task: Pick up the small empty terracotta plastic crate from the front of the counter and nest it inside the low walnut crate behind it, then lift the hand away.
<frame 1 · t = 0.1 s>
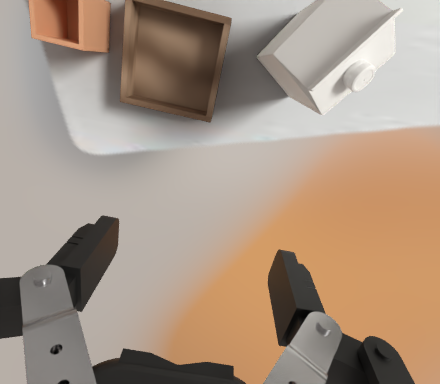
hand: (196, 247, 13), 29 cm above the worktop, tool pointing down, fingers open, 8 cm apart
terracotta crate: (87, 23, 34), on the worktop
walnut crate: (177, 62, 36), on the worktop
milk carton: (293, 57, 36), on the worktop
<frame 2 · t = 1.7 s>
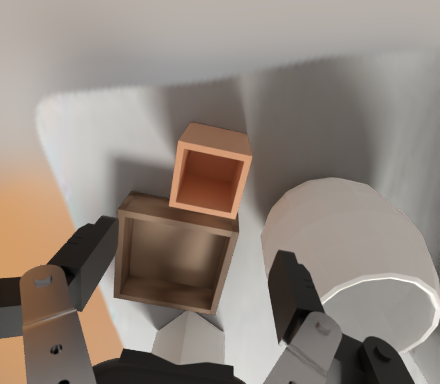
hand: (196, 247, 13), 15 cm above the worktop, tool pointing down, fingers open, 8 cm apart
terracotta crate: (213, 155, 27), on the worktop
walnut crate: (177, 244, 32), on the worktop
milk carton: (191, 330, 39), on the worktop
white round vase: (315, 218, 30), on the worktop
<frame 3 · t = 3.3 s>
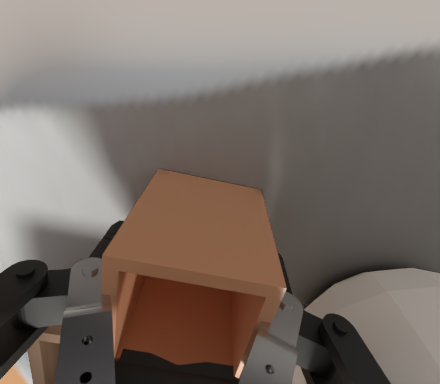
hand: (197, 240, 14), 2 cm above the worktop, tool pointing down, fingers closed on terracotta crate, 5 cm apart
terracotta crate: (201, 222, 15), on the worktop, touching gripper
walnut crate: (148, 346, 21), on the worktop
white round vase: (368, 313, 19), on the worktop
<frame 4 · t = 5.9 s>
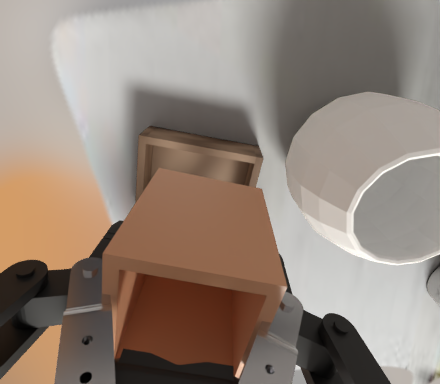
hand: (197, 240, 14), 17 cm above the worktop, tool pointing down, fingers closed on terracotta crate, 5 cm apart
terracotta crate: (201, 221, 15), point 16 cm above the worktop, touching gripper
walnut crate: (197, 185, 32), on the worktop
white round vase: (337, 150, 30), on the worktop
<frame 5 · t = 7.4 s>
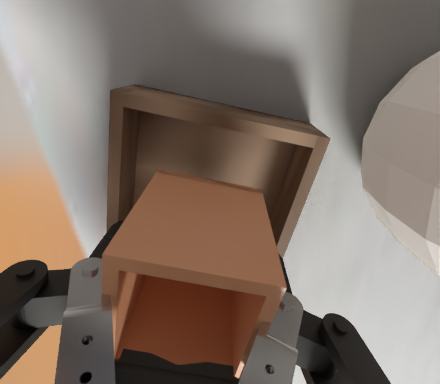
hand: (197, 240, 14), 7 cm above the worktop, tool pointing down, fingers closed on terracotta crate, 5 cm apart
terracotta crate: (201, 222, 15), point 5 cm above the worktop, touching gripper
walnut crate: (207, 184, 20), on the worktop
white round vase: (435, 134, 18), on the worktop
when the fingers open (4 cm above the worktop, at t = 8.6 s): terracotta crate drops 1 cm, resting on walnut crate.
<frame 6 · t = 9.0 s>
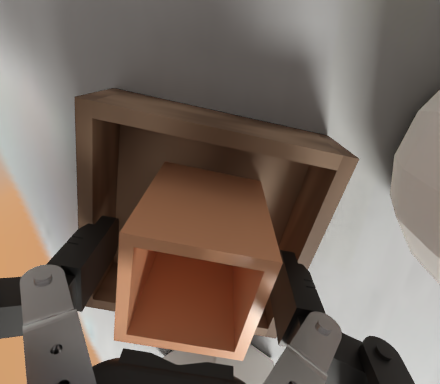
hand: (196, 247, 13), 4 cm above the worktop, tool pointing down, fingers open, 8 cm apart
terracotta crate: (204, 212, 16), point 1 cm above the worktop, touching walnut crate
walnut crate: (203, 206, 17), on the worktop
milk carton: (217, 354, 24), on the worktop
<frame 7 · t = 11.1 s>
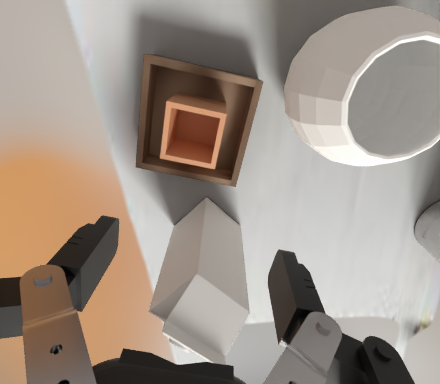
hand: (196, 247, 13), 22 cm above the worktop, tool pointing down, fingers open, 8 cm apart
terracotta crate: (198, 121, 32), point 1 cm above the worktop, touching walnut crate
walnut crate: (197, 120, 33), on the worktop
milk carton: (207, 225, 40), on the worktop
white round vase: (333, 85, 31), on the worktop
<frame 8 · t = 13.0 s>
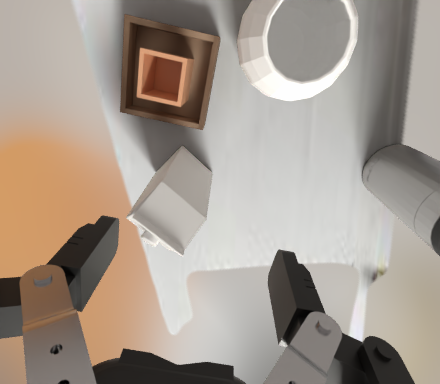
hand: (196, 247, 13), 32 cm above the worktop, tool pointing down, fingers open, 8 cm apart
terracotta crate: (172, 75, 39), point 1 cm above the worktop, touching walnut crate
walnut crate: (172, 75, 39), on the worktop
milk carton: (184, 172, 46), on the worktop
white round vase: (282, 45, 38), on the worktop
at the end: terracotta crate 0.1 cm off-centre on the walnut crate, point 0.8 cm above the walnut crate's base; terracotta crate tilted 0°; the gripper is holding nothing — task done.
